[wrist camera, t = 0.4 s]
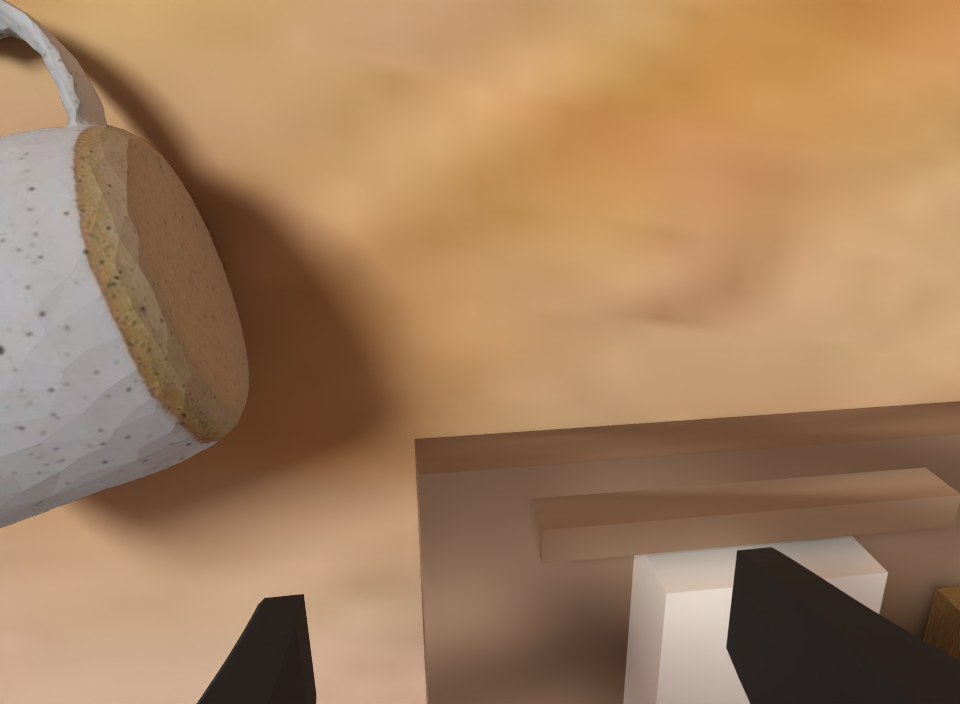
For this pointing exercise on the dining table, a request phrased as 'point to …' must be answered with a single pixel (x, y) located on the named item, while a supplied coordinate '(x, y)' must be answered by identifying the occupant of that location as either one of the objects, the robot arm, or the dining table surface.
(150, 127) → the dining table surface
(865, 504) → the board
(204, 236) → the ceramic mug
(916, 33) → the dining table surface
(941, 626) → the brass T-key
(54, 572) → the dining table surface
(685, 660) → the cream cover
